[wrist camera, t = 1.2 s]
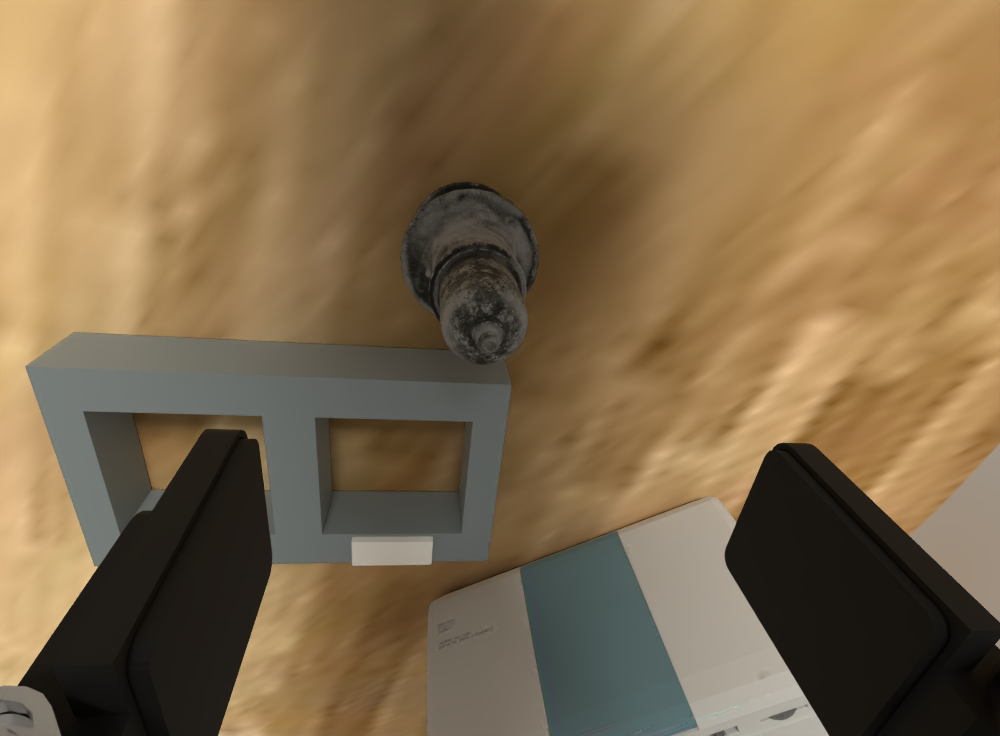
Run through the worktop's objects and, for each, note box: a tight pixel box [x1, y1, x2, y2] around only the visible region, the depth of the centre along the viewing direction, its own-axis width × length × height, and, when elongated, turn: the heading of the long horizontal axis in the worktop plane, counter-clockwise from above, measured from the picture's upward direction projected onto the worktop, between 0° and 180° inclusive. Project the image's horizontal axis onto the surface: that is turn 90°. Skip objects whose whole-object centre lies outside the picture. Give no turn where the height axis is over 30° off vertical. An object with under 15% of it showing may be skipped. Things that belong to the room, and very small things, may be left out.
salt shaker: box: [401, 182, 539, 365], centre depth 20 cm, size 6×6×12 cm
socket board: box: [25, 332, 512, 566], centre depth 28 cm, size 12×21×4 cm, turn 84°
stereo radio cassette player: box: [427, 497, 829, 736], centre depth 29 cm, size 21×8×20 cm, turn 112°
